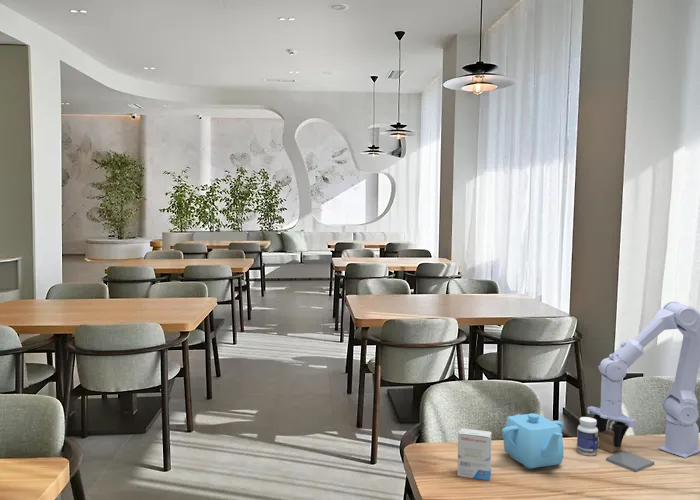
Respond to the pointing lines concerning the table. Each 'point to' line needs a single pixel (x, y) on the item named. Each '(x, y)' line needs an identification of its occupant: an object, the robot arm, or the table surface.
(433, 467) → the table surface
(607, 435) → the walnut cube
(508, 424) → the teapot
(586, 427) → the pill bottle
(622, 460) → the slate coaster
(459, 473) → the ink box
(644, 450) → the table surface
